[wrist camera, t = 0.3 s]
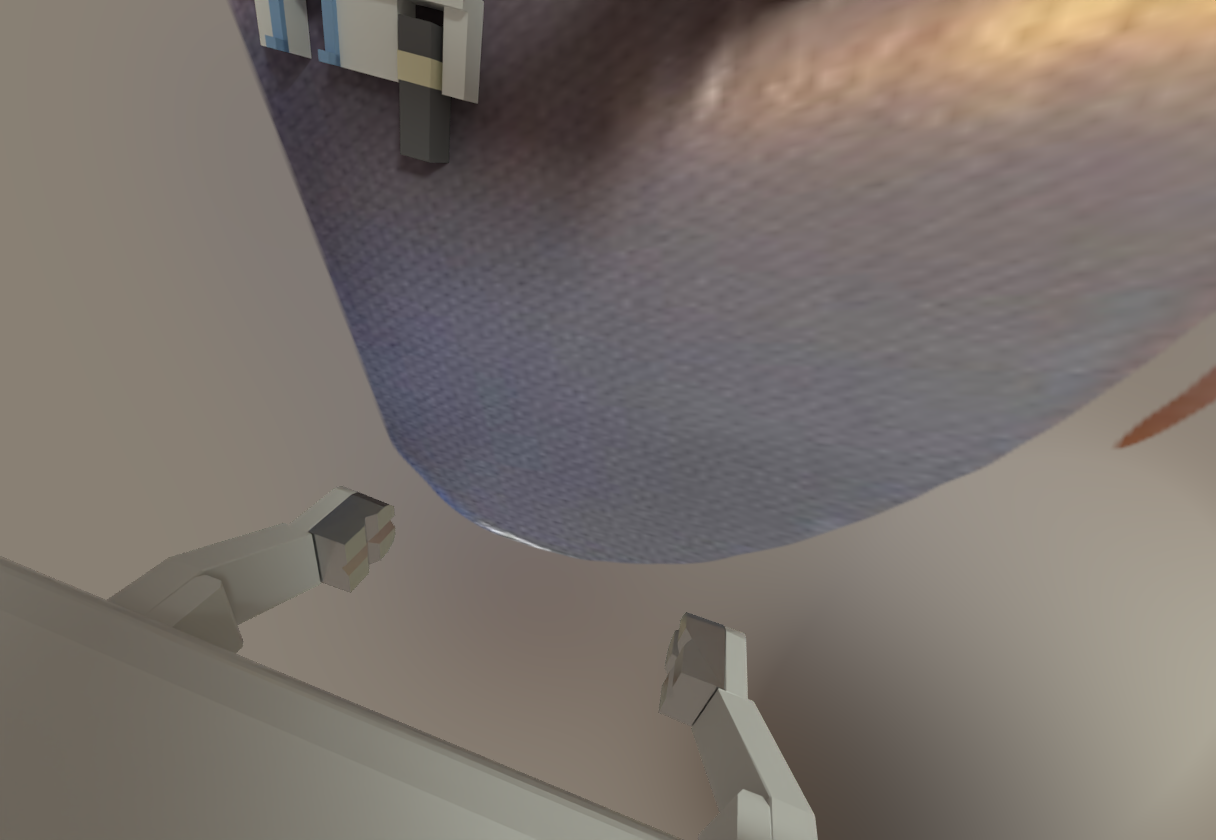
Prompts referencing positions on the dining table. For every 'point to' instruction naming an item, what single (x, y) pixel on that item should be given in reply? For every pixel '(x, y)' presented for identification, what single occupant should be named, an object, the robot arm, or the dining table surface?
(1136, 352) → the dining table surface
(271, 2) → the white angular block assembly
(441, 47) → the banded gray post
